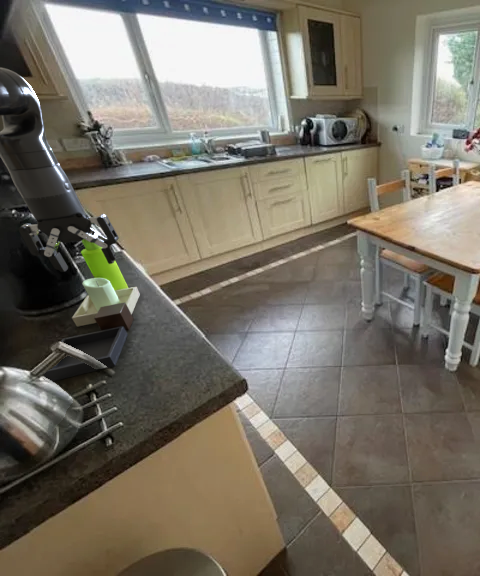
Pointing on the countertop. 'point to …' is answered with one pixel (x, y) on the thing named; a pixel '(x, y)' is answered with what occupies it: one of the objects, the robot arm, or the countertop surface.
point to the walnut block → (114, 317)
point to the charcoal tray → (90, 352)
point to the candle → (100, 292)
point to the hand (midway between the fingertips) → (88, 266)
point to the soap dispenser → (102, 265)
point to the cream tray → (89, 311)
